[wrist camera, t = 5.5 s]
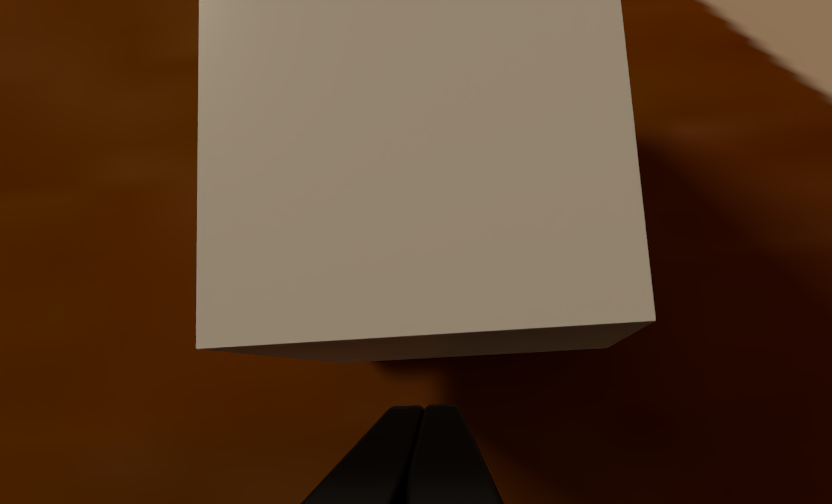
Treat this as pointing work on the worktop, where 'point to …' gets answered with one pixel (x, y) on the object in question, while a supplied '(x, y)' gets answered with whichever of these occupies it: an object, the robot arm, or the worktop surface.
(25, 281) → the worktop surface
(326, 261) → the slab
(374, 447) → the robot arm
